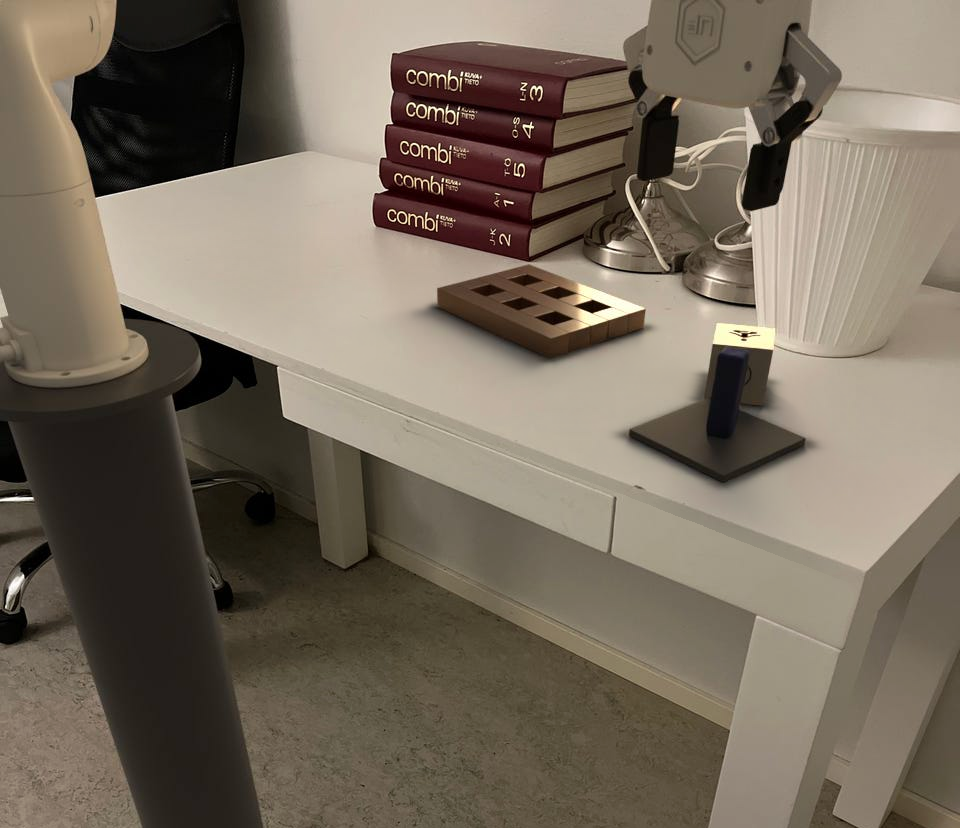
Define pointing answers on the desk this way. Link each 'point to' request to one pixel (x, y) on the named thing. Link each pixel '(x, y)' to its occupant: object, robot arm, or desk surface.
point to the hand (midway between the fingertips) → (704, 191)
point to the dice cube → (760, 356)
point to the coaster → (716, 441)
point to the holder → (541, 310)
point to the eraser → (727, 391)
